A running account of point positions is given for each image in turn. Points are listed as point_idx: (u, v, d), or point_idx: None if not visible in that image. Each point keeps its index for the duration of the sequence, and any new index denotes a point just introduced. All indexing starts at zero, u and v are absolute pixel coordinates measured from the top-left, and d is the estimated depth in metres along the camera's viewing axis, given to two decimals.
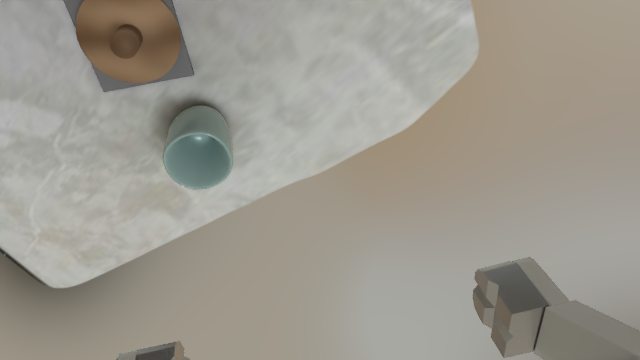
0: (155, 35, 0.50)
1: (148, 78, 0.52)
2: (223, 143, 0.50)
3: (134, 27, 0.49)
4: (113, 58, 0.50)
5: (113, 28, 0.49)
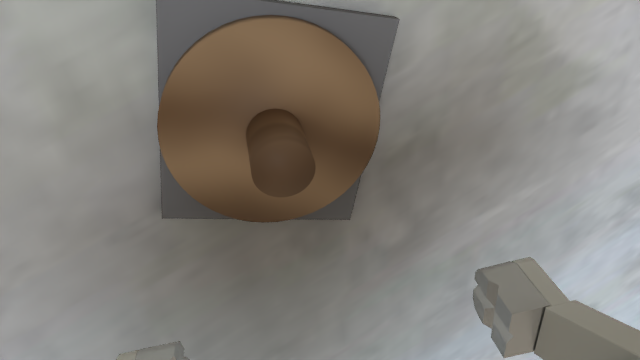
0: (216, 124, 0.21)
1: (278, 29, 0.19)
2: None
3: None
4: (330, 101, 0.21)
5: None
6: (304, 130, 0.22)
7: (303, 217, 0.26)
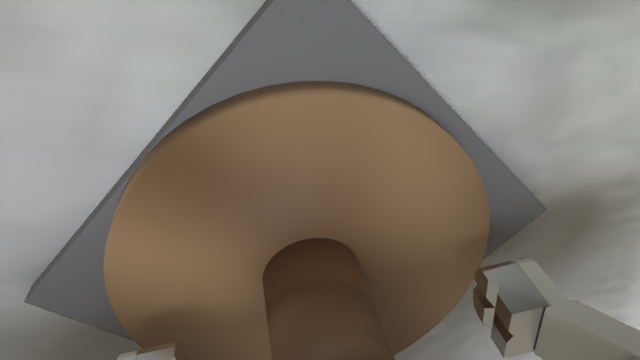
0: (241, 223, 0.11)
1: (436, 146, 0.11)
2: None
3: (264, 293, 0.12)
4: (414, 268, 0.13)
5: None
6: None
7: None
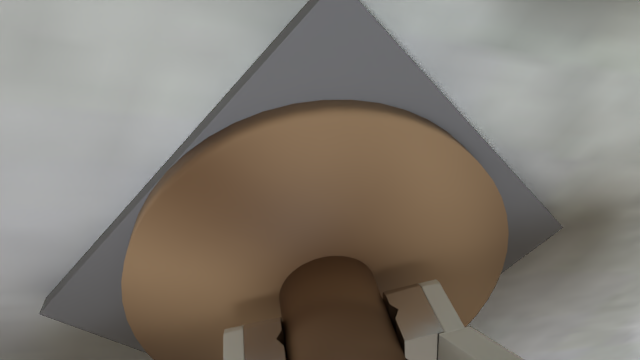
0: (261, 240, 0.11)
1: (459, 167, 0.11)
2: None
3: (280, 310, 0.12)
4: None
5: None
6: None
7: None
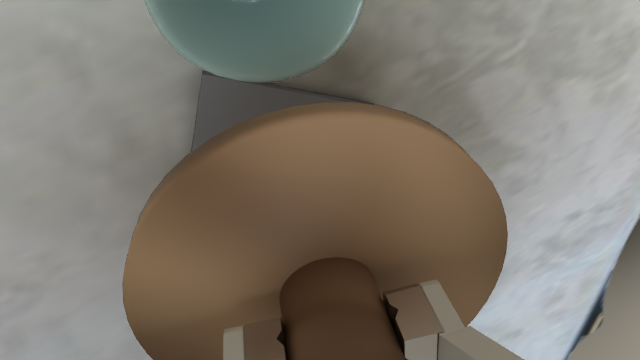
0: (261, 242, 0.11)
1: (458, 169, 0.11)
2: None
3: (281, 311, 0.12)
4: None
5: None
6: None
7: None
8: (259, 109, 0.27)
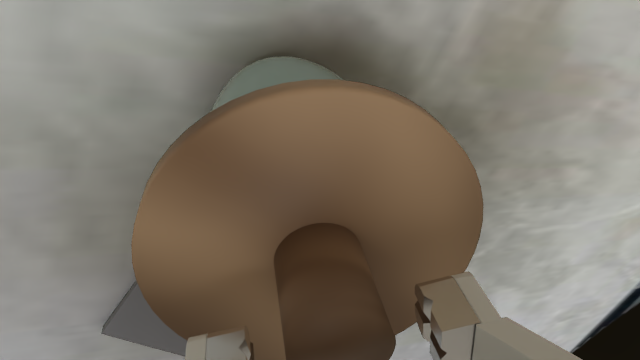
0: (256, 207, 0.12)
1: (434, 140, 0.12)
2: None
3: (275, 272, 0.13)
4: (413, 254, 0.14)
5: None
6: None
7: None
8: None
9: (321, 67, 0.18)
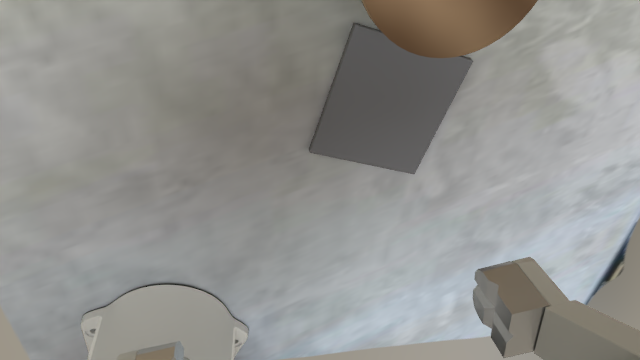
0: None
1: None
2: None
3: None
4: None
5: None
6: None
7: (388, 167, 0.43)
8: (388, 55, 0.36)
9: None
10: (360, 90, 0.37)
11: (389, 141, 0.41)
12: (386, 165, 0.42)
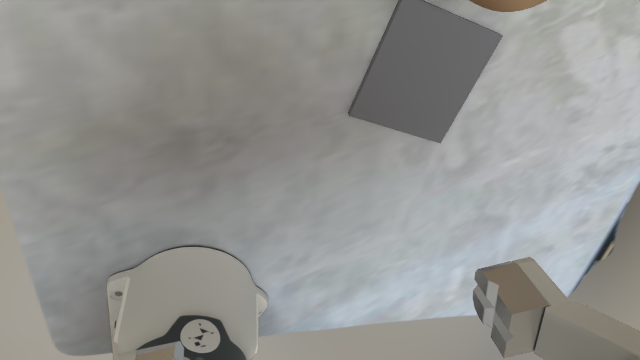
0: None
1: None
2: None
3: None
4: None
5: None
6: None
7: (417, 135, 0.46)
8: (431, 24, 0.39)
9: None
10: (402, 57, 0.41)
11: (422, 109, 0.44)
12: (416, 133, 0.46)
